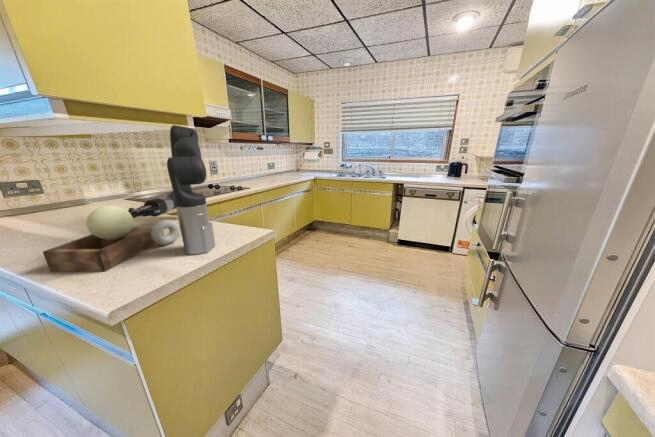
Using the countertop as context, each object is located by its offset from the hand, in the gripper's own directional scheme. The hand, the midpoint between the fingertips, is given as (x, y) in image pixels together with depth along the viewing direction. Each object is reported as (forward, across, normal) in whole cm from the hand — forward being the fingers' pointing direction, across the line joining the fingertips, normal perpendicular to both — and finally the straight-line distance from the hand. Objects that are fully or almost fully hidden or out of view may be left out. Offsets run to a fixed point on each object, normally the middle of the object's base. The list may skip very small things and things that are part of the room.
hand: (126, 216), depth 86 cm
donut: (0, +14, +11) cm, 18 cm away
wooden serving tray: (+8, 0, +11) cm, 14 cm away
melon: (+6, 0, 0) cm, 6 cm away
